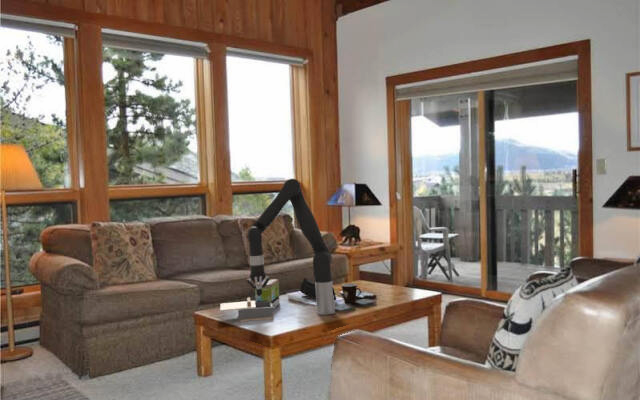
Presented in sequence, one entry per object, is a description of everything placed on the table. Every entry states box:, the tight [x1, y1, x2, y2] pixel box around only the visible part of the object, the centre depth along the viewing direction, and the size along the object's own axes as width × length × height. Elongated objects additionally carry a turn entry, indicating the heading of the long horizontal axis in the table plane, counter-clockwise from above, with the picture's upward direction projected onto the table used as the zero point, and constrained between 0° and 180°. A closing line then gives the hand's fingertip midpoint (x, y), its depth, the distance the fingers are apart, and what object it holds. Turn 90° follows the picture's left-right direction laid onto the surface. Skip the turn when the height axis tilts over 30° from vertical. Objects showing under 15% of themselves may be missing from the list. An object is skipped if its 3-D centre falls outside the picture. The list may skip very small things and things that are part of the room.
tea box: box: [254, 278, 280, 309], centre depth 319 cm, size 15×10×15 cm
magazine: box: [299, 277, 337, 302], centre depth 332 cm, size 17×3×30 cm
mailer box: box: [237, 301, 274, 322], centre depth 299 cm, size 18×14×6 cm
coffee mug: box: [341, 282, 362, 304], centre depth 319 cm, size 12×9×10 cm
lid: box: [219, 297, 256, 312], centre depth 298 cm, size 18×14×3 cm
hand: (259, 295), depth 299 cm, fingers closed
